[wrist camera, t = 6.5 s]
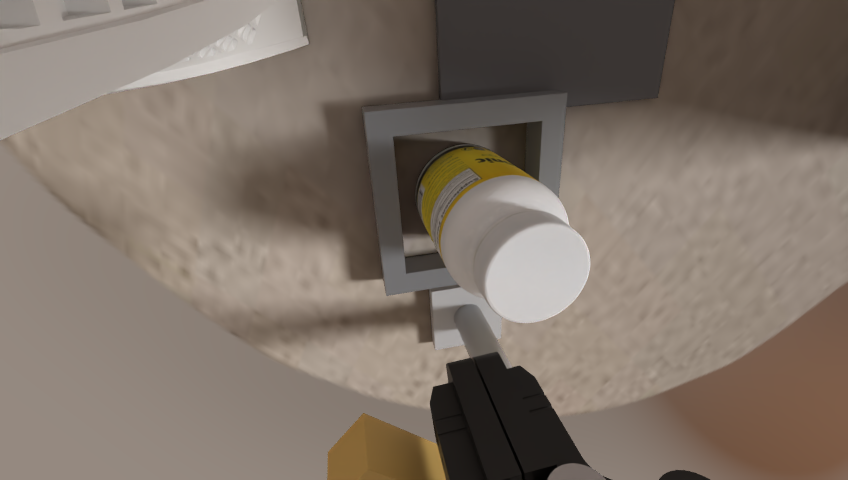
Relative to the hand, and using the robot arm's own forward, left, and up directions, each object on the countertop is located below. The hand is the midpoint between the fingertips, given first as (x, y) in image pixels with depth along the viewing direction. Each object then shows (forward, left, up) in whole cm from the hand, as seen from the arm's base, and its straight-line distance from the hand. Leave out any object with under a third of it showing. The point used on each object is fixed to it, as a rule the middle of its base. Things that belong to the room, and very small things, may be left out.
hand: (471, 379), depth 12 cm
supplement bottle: (-3, -1, -13) cm, 13 cm away
